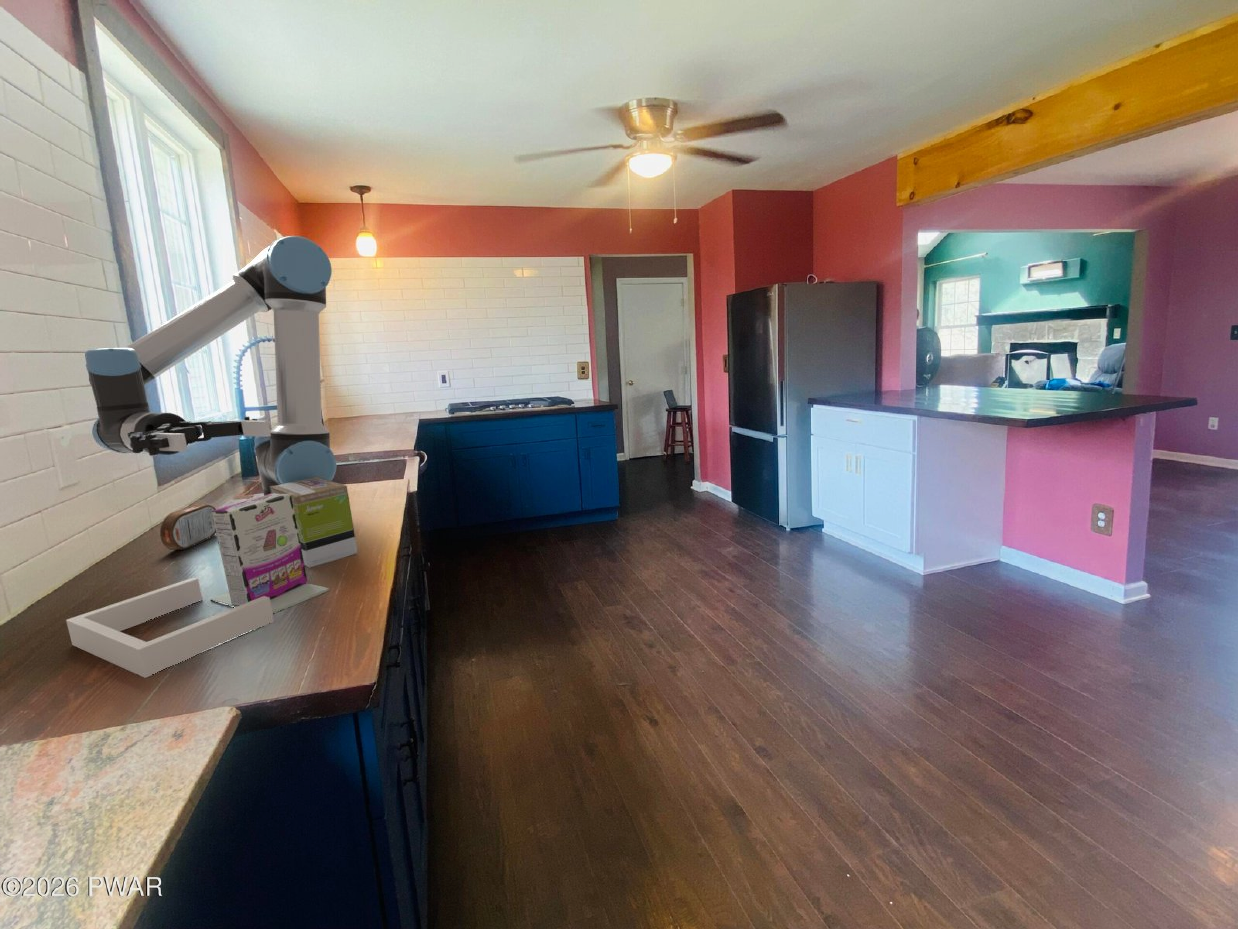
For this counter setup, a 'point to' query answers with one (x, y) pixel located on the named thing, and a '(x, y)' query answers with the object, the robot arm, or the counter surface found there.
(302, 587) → the sage mat
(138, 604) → the white piece
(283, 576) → the candy bar box
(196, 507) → the tin
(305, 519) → the tea box
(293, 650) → the counter surface
